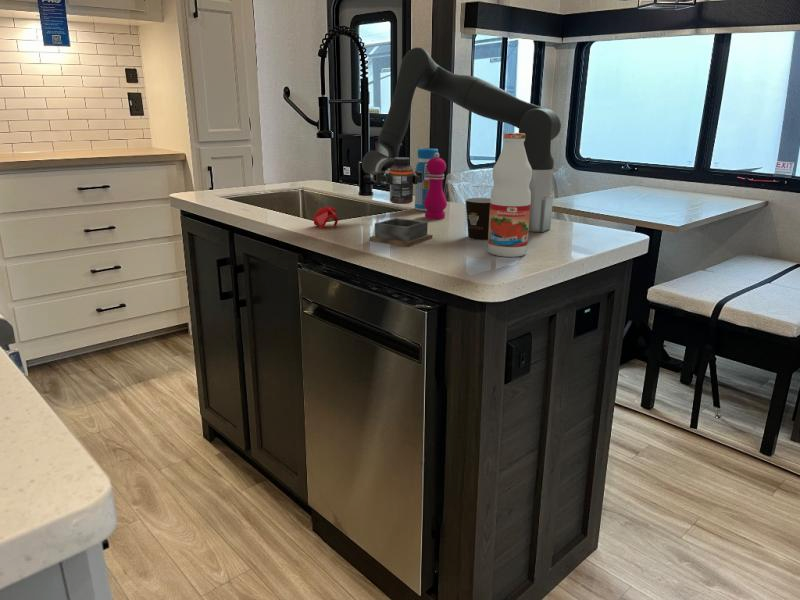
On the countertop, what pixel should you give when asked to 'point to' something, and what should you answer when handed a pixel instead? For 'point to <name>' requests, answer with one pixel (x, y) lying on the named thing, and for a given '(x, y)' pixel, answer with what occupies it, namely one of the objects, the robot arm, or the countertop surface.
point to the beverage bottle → (423, 176)
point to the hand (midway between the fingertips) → (403, 180)
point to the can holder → (401, 232)
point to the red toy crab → (325, 216)
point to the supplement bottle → (401, 181)
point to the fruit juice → (510, 199)
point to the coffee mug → (478, 218)
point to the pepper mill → (435, 189)
